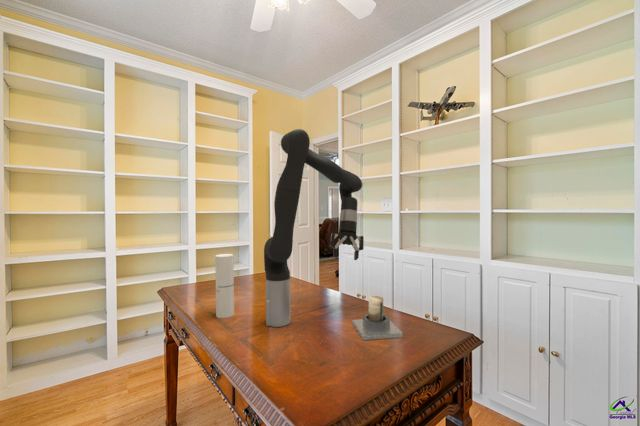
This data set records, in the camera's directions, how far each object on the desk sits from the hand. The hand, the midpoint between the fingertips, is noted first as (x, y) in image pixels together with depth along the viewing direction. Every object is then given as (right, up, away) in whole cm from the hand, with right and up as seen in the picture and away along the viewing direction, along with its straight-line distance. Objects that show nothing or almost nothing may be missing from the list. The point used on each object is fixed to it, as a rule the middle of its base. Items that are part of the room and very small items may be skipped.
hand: (345, 259), depth 122 cm
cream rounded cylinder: (+9, -22, -17) cm, 29 cm away
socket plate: (+10, -23, -17) cm, 30 cm away
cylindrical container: (-51, -23, -1) cm, 56 cm away
